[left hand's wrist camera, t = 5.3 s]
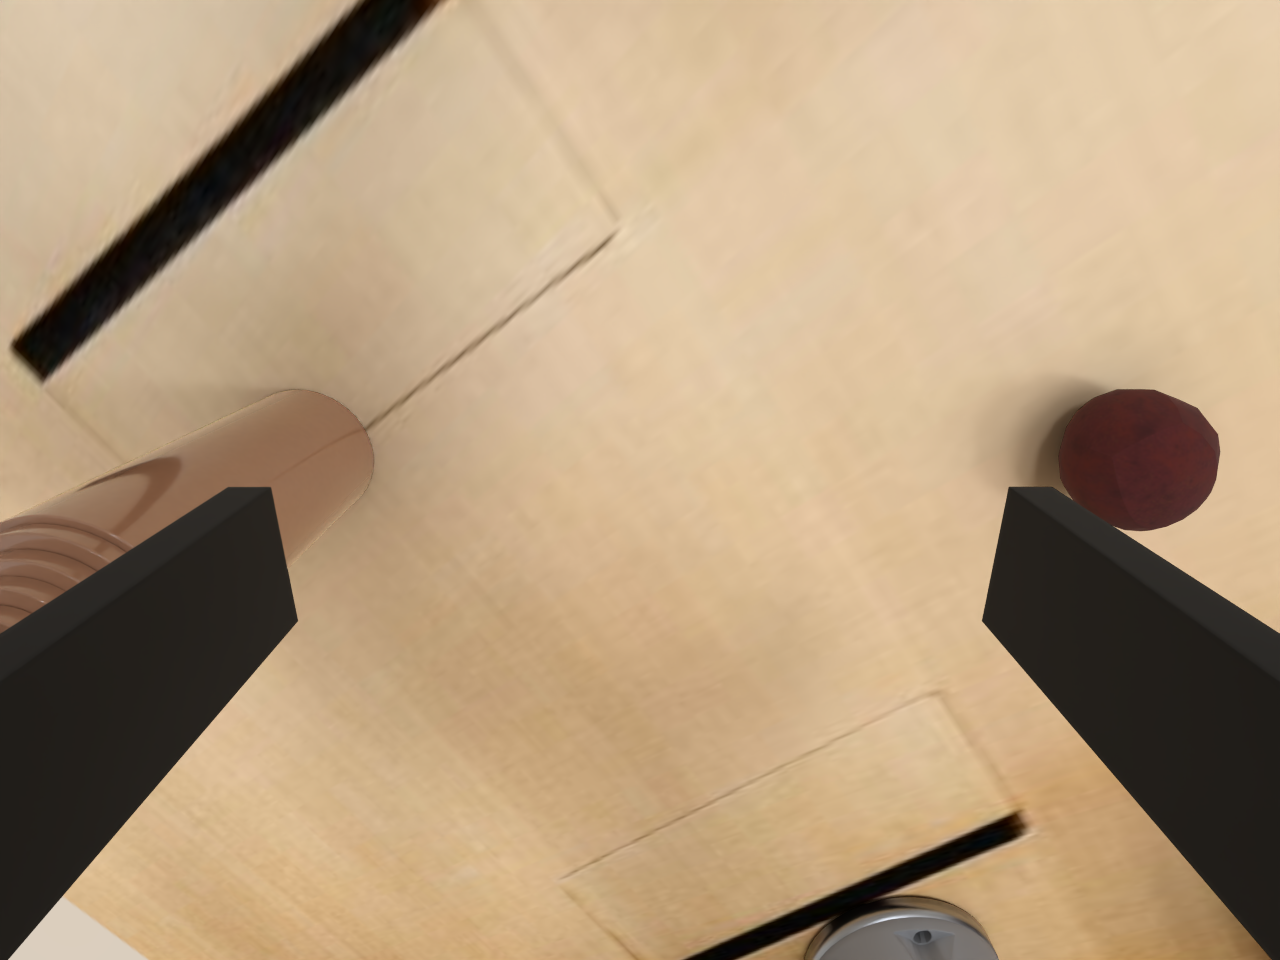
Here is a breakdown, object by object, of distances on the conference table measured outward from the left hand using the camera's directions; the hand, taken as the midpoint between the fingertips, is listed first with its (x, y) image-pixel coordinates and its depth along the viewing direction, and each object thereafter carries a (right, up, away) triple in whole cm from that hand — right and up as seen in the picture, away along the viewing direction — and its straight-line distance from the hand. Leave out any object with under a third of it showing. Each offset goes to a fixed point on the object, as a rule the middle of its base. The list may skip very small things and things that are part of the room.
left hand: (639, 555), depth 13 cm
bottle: (-20, +3, +29) cm, 35 cm away
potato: (+27, +4, +28) cm, 39 cm away
